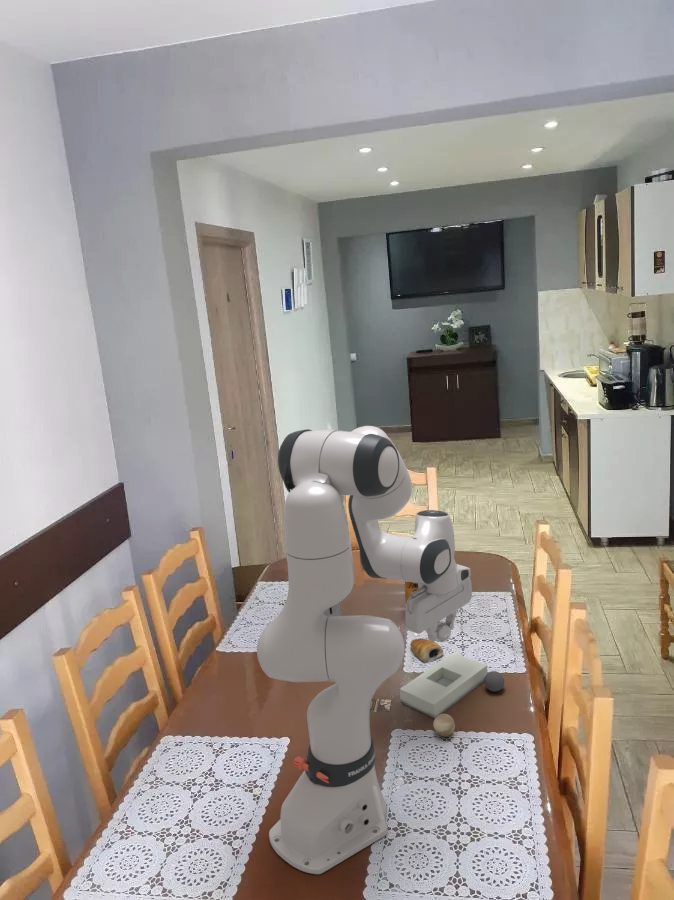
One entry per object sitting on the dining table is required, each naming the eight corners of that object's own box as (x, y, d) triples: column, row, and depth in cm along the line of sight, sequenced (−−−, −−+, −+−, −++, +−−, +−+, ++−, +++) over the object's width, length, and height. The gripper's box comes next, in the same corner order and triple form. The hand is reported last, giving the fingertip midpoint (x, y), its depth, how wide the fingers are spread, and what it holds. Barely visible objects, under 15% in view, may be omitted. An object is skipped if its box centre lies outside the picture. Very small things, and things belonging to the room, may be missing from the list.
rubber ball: (497, 697, 164) (496, 680, 163) (480, 690, 167) (479, 673, 166) (508, 688, 167) (507, 671, 166) (492, 682, 170) (491, 665, 169)
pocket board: (435, 718, 159) (434, 704, 158) (400, 702, 166) (399, 688, 165) (487, 678, 172) (486, 665, 171) (453, 665, 179) (453, 652, 178)
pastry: (404, 649, 189) (403, 636, 188) (425, 642, 192) (424, 628, 191) (424, 665, 181) (423, 651, 180) (446, 656, 184) (445, 643, 183)
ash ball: (446, 743, 150) (445, 724, 149) (429, 735, 153) (428, 716, 152) (459, 733, 153) (458, 714, 152) (442, 725, 156) (441, 706, 155)
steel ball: (443, 647, 163) (442, 629, 162) (427, 642, 166) (426, 624, 165) (455, 639, 166) (454, 622, 164) (439, 634, 169) (438, 616, 168)
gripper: (418, 599, 153) (422, 657, 156) (475, 566, 166) (478, 620, 170) (396, 592, 157) (401, 649, 161) (453, 560, 171) (456, 613, 174)
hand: (441, 634), depth 165 cm, fingers closed on steel ball, 4 cm apart
